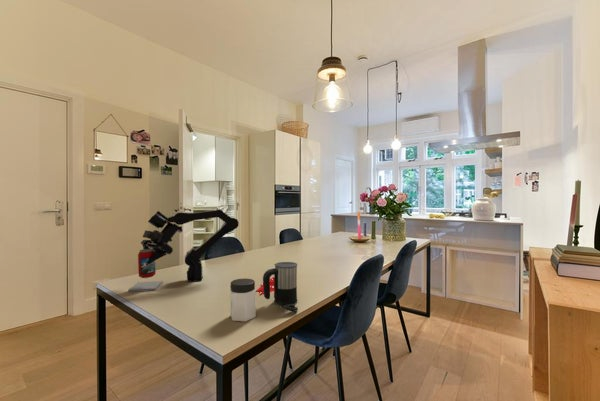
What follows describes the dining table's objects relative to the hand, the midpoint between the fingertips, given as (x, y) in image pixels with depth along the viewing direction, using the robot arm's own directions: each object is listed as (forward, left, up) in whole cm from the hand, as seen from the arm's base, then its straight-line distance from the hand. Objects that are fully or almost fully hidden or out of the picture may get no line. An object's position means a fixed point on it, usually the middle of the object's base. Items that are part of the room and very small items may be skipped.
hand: (143, 262), depth 126 cm
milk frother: (-60, +31, -13) cm, 69 cm away
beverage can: (-1, -1, -7) cm, 7 cm away
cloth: (-55, +6, -13) cm, 57 cm away
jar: (-44, +38, -12) cm, 59 cm away
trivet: (0, -3, -12) cm, 13 cm away
